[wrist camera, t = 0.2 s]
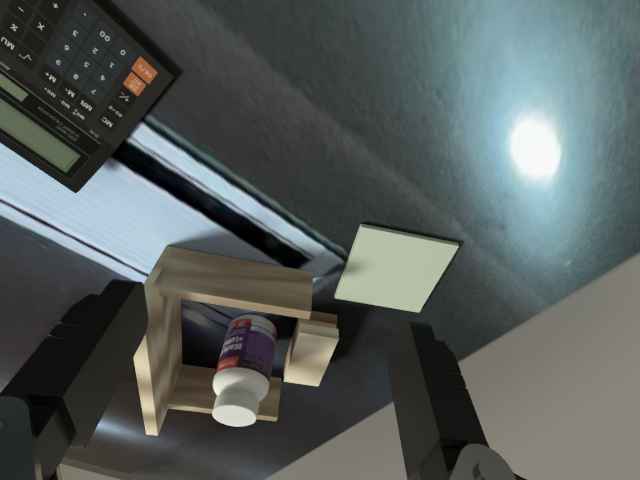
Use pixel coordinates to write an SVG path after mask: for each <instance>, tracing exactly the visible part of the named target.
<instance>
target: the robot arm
mask: <svg viewBox="0 0 640 480" xmlns="http://www.w3.org/2000/svg"><path fill="white" fill-rule="evenodd" d="M147 326H148V310H147V303H146V296H145V289H144V285H143V283H142V282H136V281H129V280H121V279H113V280H111V281H110V282H109V284H108V285H107V286H106V288H105V289H104V290H103V292H102V293H101V294H100V295H94V294H89V295H88V296H86V297H85V298H83V299H82V300H80V301H79V302H77V303H76V304H74V305H73V306H71V308H70V309H69V310H68V311H67V313H66V314H65V315H64V316H63V317H62V319H61V320H60V321H59V324H58V325H56V326H55V327H54V328H53V330H52V331H51V332H50V333H49V335H48V338H45V339H44V341H43V342H42V343H41V344H40V346H39V347H38V348H37V349H36V350H35V352H34V353H33V354H32V355H31V357H30V358H29V359H28V360H27V361H26V363H25V364H24V365H23V366H22V368H21V369H20V370H19V371H18V372H17V374H16V375H15V376H14V377H13V379H12V380H11V381H10V382H9V383H8V385H7V386H6V387H5V388H4V389H3V391H2V392H1V393H0V480H62V478H61V472H60V466H59V464H60V462H61V460H62V459H63V457H64V455H65V453H66V451H67V450H68V448H76V449H85V448H86V446H87V444H88V442H89V440H90V438H91V436H92V435H93V433H94V431H95V429H96V427H97V425H98V423H99V421H100V419H101V418H102V416H103V414H104V412H105V410H106V408H107V406H108V404H109V402H110V401H111V399H112V397H113V395H114V393H115V391H116V389H117V387H118V385H119V384H120V382H121V380H122V378H123V376H124V374H125V372H126V370H127V368H128V367H129V365H130V363H131V361H132V359H133V357H134V355H135V353H136V351H137V349H138V348H139V346H140V344H141V342H142V340H143V338H144V336H145V333H146V330H147ZM388 372H389V378H390V383H391V389H392V395H393V400H394V406H395V412H396V417H397V423H398V429H399V434H400V440H401V446H402V451H403V457H404V463H405V468H406V474H407V479H408V480H526V479H524V478H522V477H520V476H518V475H516V474H515V473H513V471H512V470H511V468H510V467H509V465H508V464H507V463H506V461H505V460H504V459H503V458H502V457H501V456H500V455H499V454H498V453H496V452H495V451H494V450H492V449H491V448H490V447H489V445H488V443H487V441H486V438H485V436H484V433H483V430H482V428H481V425H480V422H479V419H478V417H477V414H476V411H475V409H474V406H473V403H472V401H471V398H470V395H469V392H468V390H467V389H466V385H465V382H464V379H463V376H462V375H461V371H460V368H459V365H458V363H457V360H456V357H455V355H454V354H453V353H452V352H451V350H450V349H449V348H448V346H447V345H446V344H445V342H444V341H437V340H436V339H435V336H434V333H433V330H432V327H431V325H430V324H429V323H428V322H423V321H415V320H408V319H404V320H403V321H402V323H401V325H400V327H399V329H398V332H397V334H396V336H395V338H394V340H393V342H392V344H391V347H390V349H389V353H388Z"/></svg>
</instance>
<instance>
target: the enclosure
mask: <svg viewBox="0 0 640 480" xmlns="http://www.w3.org/2000/svg"><path fill="white" fill-rule="evenodd" d="M312 284H313V272H310V271H305V270H299V269H293V268H288V267H282V266H277V265H271V264H266V263H260V262H255V261H249V260H243V259H238V258H232V257H227V256H221V255H216V254H210V253H204V252H199V251H193V250H188V249H182V248H177V247H171V246H166V247H165V249H164V251H163V252H162V254H161V256H160V257H159V259H158V261H157V262H156V264H155V266H154V268H153V269H152V271H151V273H150V274H149V276H148V278H147V279H146V281H145V283H144V284H143V285H144V289H145V296H146V303H147V310H148V326H147V330H146V333H145V336H144V338H143V340H142V342H141V344H140V346H139V348H138V349H137V351H136V353H135V355H134V357H133V358H134V364H135V370H136V376H137V382H138V388H139V394H140V400H141V406H142V412H143V418H144V424H145V430H146V434H147V435H156V436H158V434H159V431H160V428H161V426H162V423H163V420H164V418H165V415H166V412H167V409H168V408H171V409H179V410H188V411H196V412H204V413H212V412H213V408H214V403H215V400H216V398H217V395H216V393H215V392H214V389H213V380H214V375H215V372H216V369H213V368H205V367H198V366H191V365H184V364H182V324H181V299H185V300H191V301H197V302H203V303H209V304H216V305H222V306H228V307H234V308H240V309H247V310H253V311H259V312H265V313H271V314H277V315H284V316H290V317H296V318H302V319H308V320H309V317H310V314H311V306H312ZM281 380H282V378H277V377H271V378H270V385H269V390H268V393H267V395H266V396H265V397H264V398H263V399H262V400H261V401H259V409H258V414H257V419H261V420H269V421H276V420H277V416H278V407H279V398H280V389H281Z"/></svg>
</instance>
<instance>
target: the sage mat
mask: <svg viewBox="0 0 640 480" xmlns="http://www.w3.org/2000/svg"><path fill="white" fill-rule="evenodd" d="M458 247H459V245H458V243H456V242H451V241H446V240H441V239H436V238H431V237H426V236H421V235H416V234H411V233H406V232H401V231H396V230H391V229H386V228H381V227H376V226H371V225H366V224H360V227H359V230H358V232H357V235H356V238H355V241H354V243H353V246H352V249H351V252H350V254H349V257H348V260H347V262H346V265H345V268H344V271H343V273H342V276H341V279H340V282H339V284H338V287H337V290H336V293H335V298H337V299H343V300H348V301H354V302H360V303H366V304H372V305H378V306H383V307H389V308H395V309H401V310H407V311H413V312H418V313H419V312H420V310H421V309H422V307H423V305H424V304H425V302H426V300H427V299H428V297H429V295H430V294H431V292H432V290H433V289H434V287H435V285H436V284H437V282H438V280H439V279H440V277H441V276H442V274H443V272H444V271H445V269H446V267H447V266H448V264H449V262H450V261H451V259H452V257H453V256H454V254H455V252H456V251H457V249H458Z"/></svg>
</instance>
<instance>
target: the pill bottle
mask: <svg viewBox="0 0 640 480" xmlns="http://www.w3.org/2000/svg"><path fill="white" fill-rule="evenodd" d="M276 335H277V332H276V328H275V326H274V324H273V323H272V322H271V321H269V320H268V319H266V318H264V317H261V316H258V315H242V316H239V317H237V318H235V319H233V320H232V321H231V323H230V325H229V327H228V330H227V334H226V337H225V341H224V344H223V348H222V351H221V355H220V358H219V361H218V365H217V368H216V372H215V375H214V380H213V389H214V392H215V393H216V395H217V398H216V400H215V403H214V408H213V412H212V415H213V417H214V418H215V420H217V421H218V422H220V423H222V424H225V425H229V426H238V427H240V426H247V425H251V424H253V423H254V422H255V421H256V419H257V414H258V409H259V401H261V400H262V399H263V398H264V397H265V396H266V395H267V393H268V390H269V385H270V378H271V371H272V364H273V357H274V350H275V343H276Z"/></svg>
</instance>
